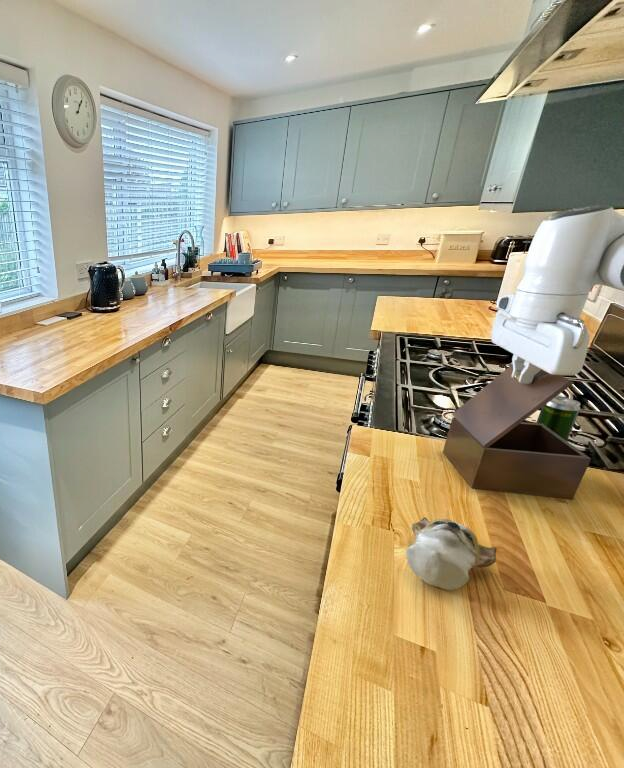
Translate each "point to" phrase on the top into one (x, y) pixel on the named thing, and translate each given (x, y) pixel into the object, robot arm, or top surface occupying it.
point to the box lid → (507, 404)
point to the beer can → (559, 415)
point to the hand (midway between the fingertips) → (520, 380)
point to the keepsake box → (518, 461)
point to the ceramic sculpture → (446, 553)
